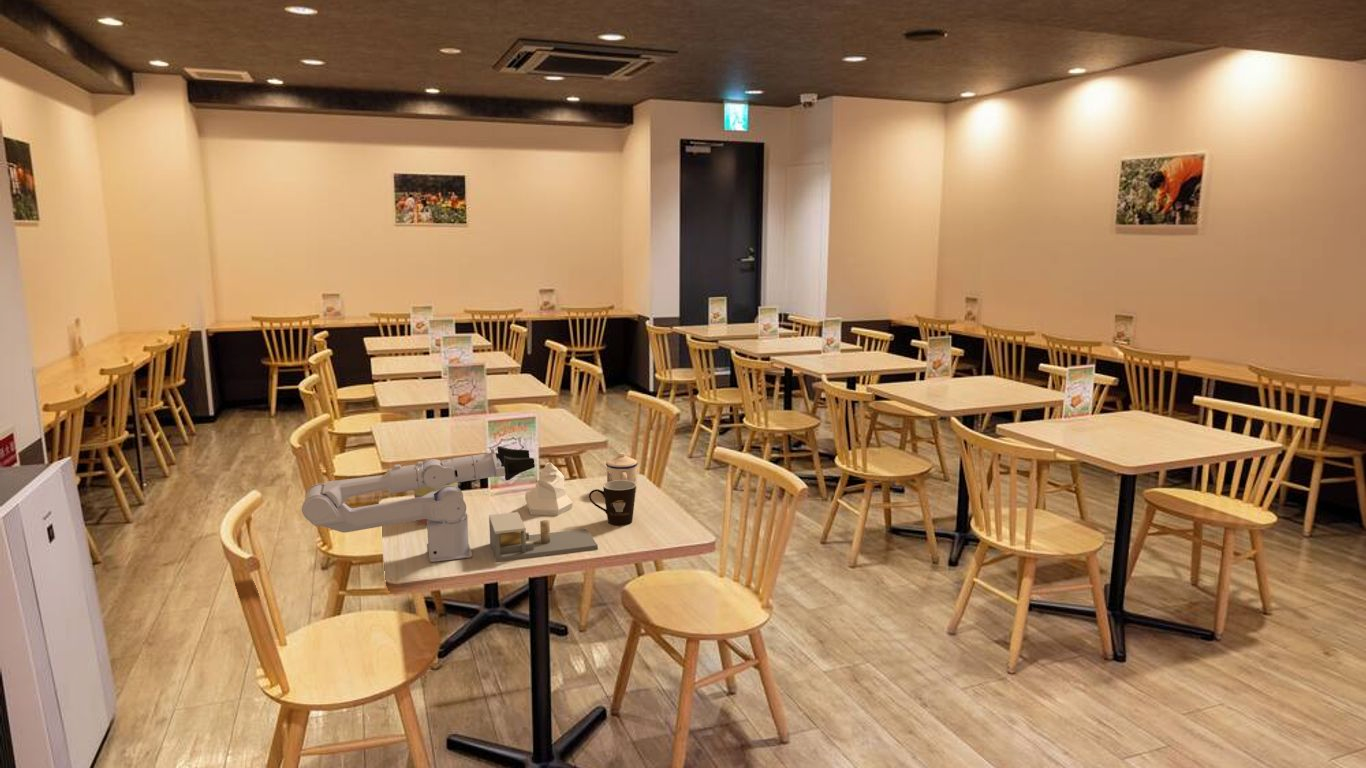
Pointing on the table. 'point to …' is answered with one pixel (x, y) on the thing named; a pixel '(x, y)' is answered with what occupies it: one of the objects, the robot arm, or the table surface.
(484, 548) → the table surface
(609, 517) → the coffee mug
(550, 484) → the cream faceted rock
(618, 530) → the table surface
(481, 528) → the table surface
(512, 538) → the yellow block
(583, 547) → the plate
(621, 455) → the teacup with lid
